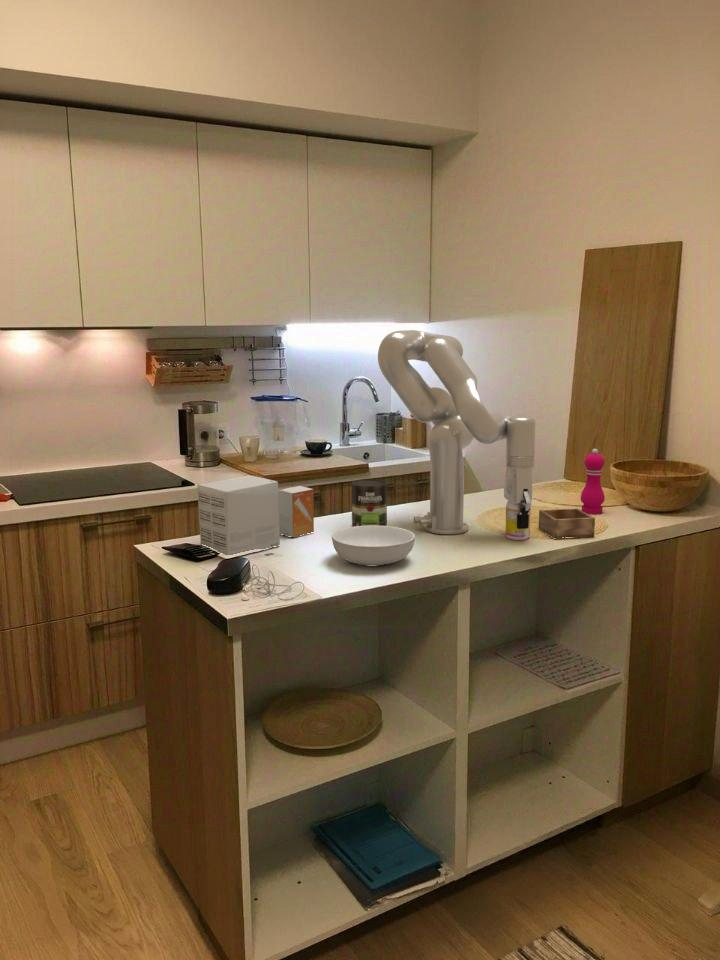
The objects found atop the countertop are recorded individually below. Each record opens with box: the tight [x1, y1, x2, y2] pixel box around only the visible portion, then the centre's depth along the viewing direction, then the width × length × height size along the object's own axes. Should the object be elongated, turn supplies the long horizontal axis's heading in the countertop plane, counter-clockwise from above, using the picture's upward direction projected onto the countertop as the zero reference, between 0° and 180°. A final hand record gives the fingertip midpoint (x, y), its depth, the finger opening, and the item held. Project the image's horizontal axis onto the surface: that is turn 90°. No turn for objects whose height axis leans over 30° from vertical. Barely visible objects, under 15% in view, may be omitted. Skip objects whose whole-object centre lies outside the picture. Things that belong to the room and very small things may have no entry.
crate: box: [538, 507, 596, 539], centre depth 227 cm, size 12×12×6 cm
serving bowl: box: [331, 525, 416, 566], centre depth 202 cm, size 21×21×7 cm
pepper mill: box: [580, 448, 606, 515], centre depth 249 cm, size 7×7×20 cm
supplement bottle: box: [505, 500, 532, 541], centre depth 222 cm, size 7×7×13 cm
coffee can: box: [350, 478, 388, 527], centre depth 230 cm, size 10×10×14 cm
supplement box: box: [196, 474, 281, 555], centre depth 213 cm, size 17×13×18 cm
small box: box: [278, 485, 315, 538], centre depth 227 cm, size 8×6×13 cm
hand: (517, 524), depth 222 cm, fingers closed on supplement bottle, 6 cm apart
